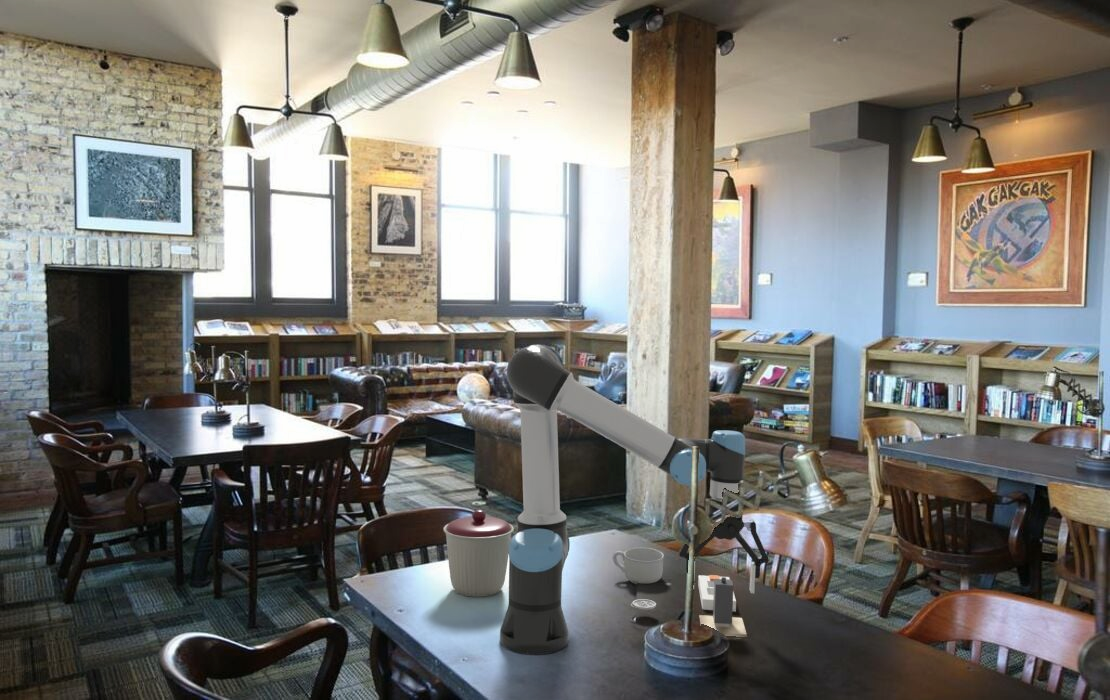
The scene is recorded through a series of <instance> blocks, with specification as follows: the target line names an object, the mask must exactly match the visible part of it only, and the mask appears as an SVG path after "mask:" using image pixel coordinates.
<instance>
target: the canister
mask: <svg viewBox="0 0 1110 700" xmlns="http://www.w3.org/2000/svg"><path fill="white" fill-rule="evenodd" d="M442 529H443V533H444V534H445V537H446V538H445V539H446V549H447V558H448V568H449V576H450V583H451V586H452V588H453V590H454V591H455V592H456V593H458V594H460V595H462V596H464V597H465V596H466V597H472V598H473V597H474V598H482V597H488V596H492V595H495V594H497V593H499V592H500V591H501V590H502V588H503V586H505V585H504V584H505V581H506V575H507V568H508V561H509V547H510V541H511V539H512V533H513V532H514V530H515V528H514V526H513V525H512V524H511V523H509V522H508V521H506V520H505V519H502V518H498V517H492V516H487V513H486V511H484V510H482V509H475V510H474V511H473V512H472V515H471V516H466V517H460V518H457V519H456V518H455V519H454V520H452V521H451V522H449V523H447V524H446V525H444V526H443V528H442Z"/></svg>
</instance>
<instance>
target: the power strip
mask: <svg viewBox="0 0 1110 700" xmlns="http://www.w3.org/2000/svg"><path fill="white" fill-rule="evenodd" d="M697 577H698V578H697V579H698V580H697V585H698V590H699V597H700V602H701V603H700V604H701V609H702V610H705V611H707V610H708V611H713V600H714V579H722V577H723V576H720V575H718V574H717V575H715V574H709V575H703V574H701V575H700V574H699V575H698V576H697ZM724 577H725V578H726V579H728V580H731V578H730V576H724ZM733 612H735V613H736V612H737V600H736V596H735V592H734V591H733Z"/></svg>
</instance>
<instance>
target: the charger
mask: <svg viewBox="0 0 1110 700" xmlns="http://www.w3.org/2000/svg"><path fill="white" fill-rule="evenodd" d="M721 577H722V579H714V600H713V610H712V616H713V619H714V623H716V626H720V627H729V625H730V624H732V617H733V612H734V611H733V592H734V584H733V580H732V579H730V580H728V579H726V578H725V577H726V576H721Z"/></svg>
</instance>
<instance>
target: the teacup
mask: <svg viewBox="0 0 1110 700" xmlns="http://www.w3.org/2000/svg"><path fill="white" fill-rule="evenodd" d="M618 555H619V556H621V557H622V560H623V564H621V563H620V561H618V558H617V556H618ZM664 558H665V555H664V553H663V552H662V551H660V550H658V549H655V548H651V547H633V548H632V547H631V548H629V549H627V550H625V551H622V550H617V551H615V552H614V553H613V555H612V561H613V563H614V565H615V566H617V568H619V569H620V570H621V571H622V573H624V575H625V577H626V579H627V580H629V581H630V583H632V584H634V585H636V586H637V585H638V584H642V585H643V584H645V585H646V584H654V583H657V582H658V581H660V580H661V578H662V576H663V571H664Z"/></svg>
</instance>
